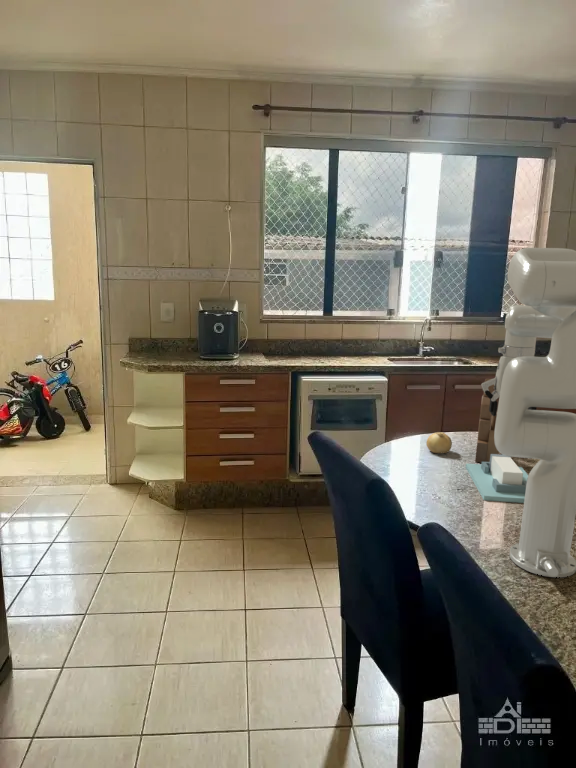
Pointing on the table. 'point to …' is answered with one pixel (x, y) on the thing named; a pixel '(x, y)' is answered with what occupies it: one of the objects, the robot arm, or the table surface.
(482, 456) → the wooden toy
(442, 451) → the onion
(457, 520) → the table surface
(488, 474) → the cradle
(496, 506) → the table surface
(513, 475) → the white pillar block
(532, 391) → the robot arm
